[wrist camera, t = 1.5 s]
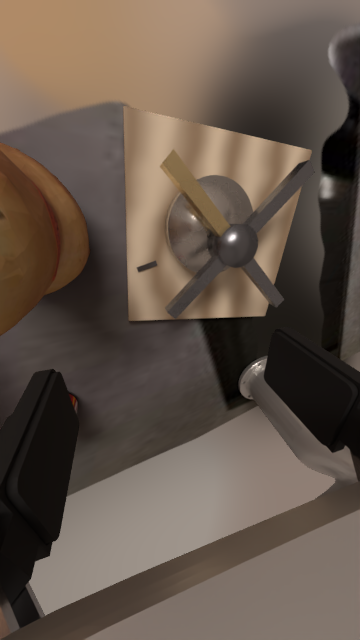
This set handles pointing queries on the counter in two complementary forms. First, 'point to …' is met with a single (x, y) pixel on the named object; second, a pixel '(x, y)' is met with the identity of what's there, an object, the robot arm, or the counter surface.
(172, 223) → the capstan
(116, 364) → the counter surface
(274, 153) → the stand plate
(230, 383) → the counter surface
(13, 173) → the butternut squash
